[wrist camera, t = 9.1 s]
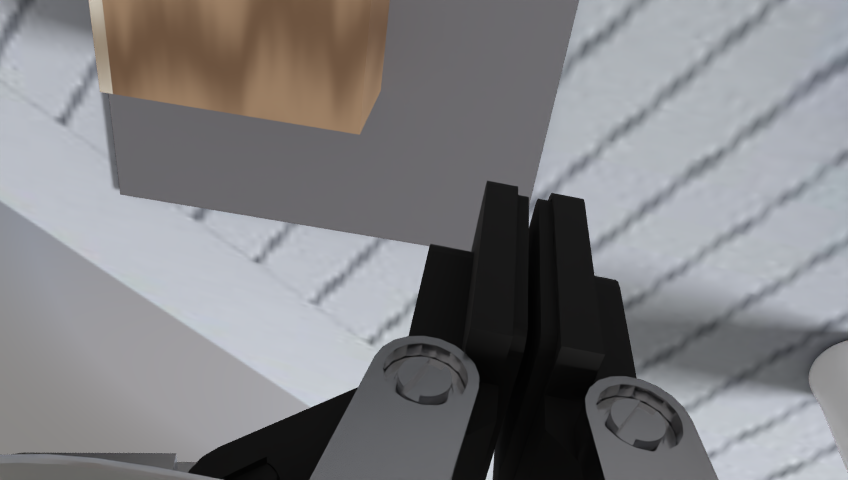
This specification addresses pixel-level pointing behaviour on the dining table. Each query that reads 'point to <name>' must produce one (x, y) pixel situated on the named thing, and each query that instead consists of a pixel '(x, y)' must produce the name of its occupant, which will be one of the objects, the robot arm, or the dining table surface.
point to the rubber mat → (375, 132)
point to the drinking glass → (833, 392)
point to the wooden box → (247, 56)
